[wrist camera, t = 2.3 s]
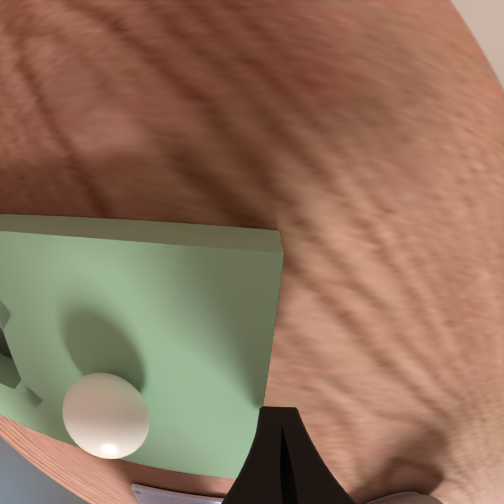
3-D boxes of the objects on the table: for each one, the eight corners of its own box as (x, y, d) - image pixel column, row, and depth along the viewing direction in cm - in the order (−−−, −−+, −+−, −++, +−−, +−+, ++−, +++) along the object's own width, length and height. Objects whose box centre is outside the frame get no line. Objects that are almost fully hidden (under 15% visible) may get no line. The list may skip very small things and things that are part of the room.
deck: (251, 445, 16) (250, 479, 14) (-11, 380, 16) (-27, 399, 14) (278, 230, 12) (283, 253, 9) (-60, 212, 12) (-87, 224, 9)
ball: (162, 420, 12) (144, 483, 9) (93, 405, 12) (65, 459, 9) (154, 363, 11) (125, 432, 8) (75, 347, 11) (34, 404, 8)
